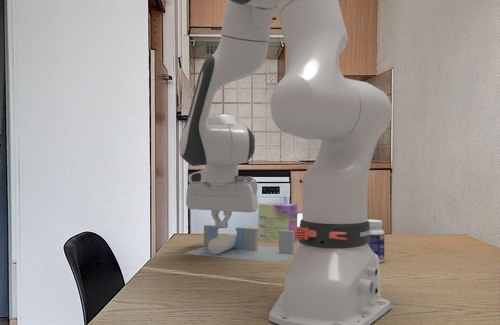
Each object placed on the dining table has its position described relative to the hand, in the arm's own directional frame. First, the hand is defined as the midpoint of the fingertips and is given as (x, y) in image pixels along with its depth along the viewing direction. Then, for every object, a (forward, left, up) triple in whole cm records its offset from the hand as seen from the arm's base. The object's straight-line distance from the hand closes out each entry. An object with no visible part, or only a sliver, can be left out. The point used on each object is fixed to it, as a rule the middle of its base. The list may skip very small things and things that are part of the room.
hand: (221, 227), depth 122 cm
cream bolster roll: (-1, 0, -5) cm, 5 cm away
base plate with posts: (+1, -6, -7) cm, 9 cm away
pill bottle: (+7, -38, -7) cm, 40 cm away
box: (+20, -8, -7) cm, 23 cm away
